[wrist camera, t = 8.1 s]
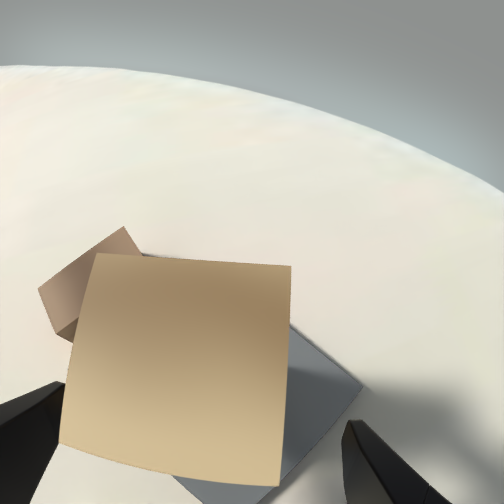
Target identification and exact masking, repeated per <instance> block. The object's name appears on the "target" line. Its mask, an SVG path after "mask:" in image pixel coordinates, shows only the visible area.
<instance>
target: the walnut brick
mask: <svg viewBox="0 0 504 504" xmlns="http://www.w3.org/2000/svg"><path fill="white" fill-rule="evenodd" d="M97 253H107V254H120V255H134V256H143V255H142V254H141V252H140V251H139V249H138V248H137V246H136V245H135V243H134V242H133V240H132V238H131V237H130V235H129V234H128V232H127V231H126V229H125V228H124V226H123V227H122V228H120V229H119V230H117V231H116V232H114V233H113V234H111V235H110V236H108V237H107V238H105V239H104V240H103V241H101V242H100V243H98V244H97V245H95V246H94V247H93V248H91V249H90V250H88V251H87V252H86V253H84V254H83V255H81V256H80V257H79V258H77V259H76V260H75V261H73V262H72V263H71V264H69V265H68V266H66V267H65V268H64V269H62V270H61V271H60V272H58V273H57V274H56V275H55V276H53V277H52V278H51V279H49V280H48V281H47V282H45V283H44V284H43V285H42V286H40V287H39V288H38V291H39V294H40V296H41V299H42V302H43V304H44V307H45V309H46V312H47V314H48V317H49V319H50V322H51V324H52V326H53V329H54V331H55V333H56V334H57V335H59V336H60V337H62V338H64V339H66V340H68V341H70V342H72V343H73V342H74V337H75V332H76V328H77V324H78V319H79V315H80V311H81V307H82V303H83V299H84V295H85V292H86V288H87V284H88V281H89V277H90V274H91V270H92V267H93V263H94V260H95V257H96V254H97Z"/></svg>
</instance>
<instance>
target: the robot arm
mask: <svg viewBox="0 0 504 504" xmlns="http://www.w3.org/2000/svg"><path fill="white" fill-rule="evenodd" d="M65 385H66V384H65V383H61V382H58V381H55V382H53V383H50V384H48V385H46V386H43V387H41V388H39V389H36V390H34V391H32V392H29V393H27V394H25V395H22V396H20V397H17V398H15V399H13V400H10V401H8V402H5V403H3V404H0V504H30V501H31V499H32V497H33V495H34V493H35V491H36V488H37V486H38V484H39V482H40V480H41V478H42V476H43V474H44V472H45V470H46V468H47V466H48V464H49V462H50V460H51V458H52V456H53V454H54V452H55V450H56V448H57V446H58V444H59V432H60V423H61V414H62V406H63V399H64V392H65ZM341 444H342V461H343V480H344V489H345V495H346V500H347V504H452V503H451V502H449V501H448V500H447V499H446V498H444V497H443V496H442V495H441V494H440V493H439V492H437V491H436V490H435V489H434V488H433V487H432V486H431V485H430V486H429V483H428V482H426V481H425V480H424V479H423V478H422V477H421V476H420V475H419V474H418V473H417V472H416V471H415V470H414V469H413V468H411V467H410V466H409V465H408V464H407V463H406V462H405V461H404V460H403V459H402V458H401V457H400V456H399V455H398V454H397V453H396V452H395V451H394V450H393V449H392V448H391V447H390V446H388V445H387V444H386V443H385V442H384V441H383V440H382V439H381V438H380V437H379V436H378V435H377V434H376V433H375V432H374V431H373V430H372V429H371V428H370V427H369V426H368V425H367V424H366V423H365V422H364V421H363V420H361V419H356V420H349V421H348V422H347V425H346V428H345V431H344V433H343V436H342V443H341Z"/></svg>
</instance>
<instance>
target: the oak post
mask: <svg viewBox="0 0 504 504" xmlns="http://www.w3.org/2000/svg"><path fill="white" fill-rule="evenodd" d="M290 295H291V266H283V265H267V264H251V263H236V262H220V261H205V260H190V259H176V258H162V257H148V256H134V255H120V254H107V253H97V254H96V257H95V260H94V263H93V267H92V270H91V274H90V277H89V281H88V284H87V288H86V292H85V295H84V299H83V303H82V307H81V311H80V315H79V319H78V324H77V328H76V332H75V337H74V342H73V347H72V352H71V357H70V362H69V368H68V373H67V379H66V385H65V392H64V399H63V406H62V414H61V423H60V432H59V443H61V444H63V445H66V446H69V447H72V448H74V449H77V450H80V451H83V452H86V453H89V454H92V455H95V456H98V457H101V458H105V459H108V460H111V461H115V462H118V463H122V464H126V465H129V466H133V467H137V468H142V469H146V470H150V471H155V472H159V473H164V474H169V475H175V476H180V477H186V478H192V479H199V480H206V481H213V482H222V483H231V484H243V485H257V486H279V482H280V471H281V459H282V446H283V433H284V418H285V403H286V386H287V368H288V347H289V324H290Z"/></svg>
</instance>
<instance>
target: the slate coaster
mask: <svg viewBox="0 0 504 504" xmlns="http://www.w3.org/2000/svg"><path fill="white" fill-rule="evenodd" d="M362 388H363V386H362V385H361V384H359V383H358V382H357V381H355V380H354V379H353V378H352V377H350V376H349V375H348V374H347V373H345V372H344V371H343V370H342V369H340V368H339V367H338V366H337V365H335V364H334V363H333V362H332V361H330V360H329V359H328V358H327V357H325V356H324V355H323V354H322V353H320V352H319V351H318V350H317V349H316V348H314V347H313V346H312V345H311V344H309V343H308V342H307V341H306V340H305V339H303V338H302V337H301V336H300V335H298V334H297V333H296V332H295V331H294V330H292V329H291V328H290V327H289V347H288V368H287V386H286V403H285V418H284V433H283V446H282V459H281V471H280V481H281V480H282V479H283V478H284V477H285V476H286V475H287V474H288V473H289V472H290V471H291V470H292V469H293V468H294V467H295V466H296V465H297V464H298V463H299V462H300V461H301V460H302V459H303V458H304V457H305V456H306V454H307V453H308V452H309V451H310V450H311V449H312V448H313V447H314V446H315V445H316V444H317V442H318V441H319V440H320V439H321V438H322V437H323V436H324V434H325V433H326V432H327V431H328V430H329V429H330V428H331V426H332V425H333V424H334V423H335V422H336V420H337V419H338V418H339V417H340V416H341V414H342V413H343V412H344V411H345V409H346V408H347V407H348V406H349V404H350V403H351V402H352V401H353V399H354V398H355V397H356V396H357V394H358V393H359V392H360V390H361V389H362ZM172 476H173V477H174V478H175V479H176V480H177V481H178V482H179V483H180V484H181V485H183V486H184V487H185V488H186V489H187V490H188V491H189V492H190V493H192V494H193V495H194V496H195V497H196V498H197V499H199V500H200V501H201V502H202V503H203V504H257V503H258V502H259V501H260V500H261V499H262V498H263V497H264V496H265V495H266V494H268V493H269V492H270V491H271V490H272V489H273V488H274V487H275V486H257V485H243V484H231V483H222V482H213V481H206V480H199V479H192V478H186V477H180V476H175V475H172Z"/></svg>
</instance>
